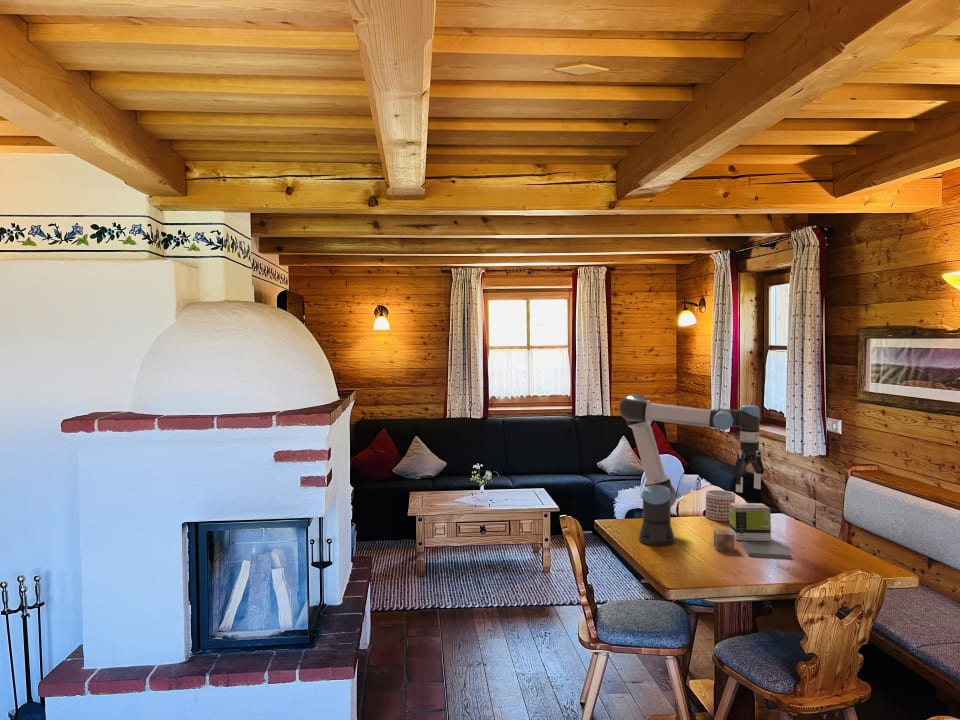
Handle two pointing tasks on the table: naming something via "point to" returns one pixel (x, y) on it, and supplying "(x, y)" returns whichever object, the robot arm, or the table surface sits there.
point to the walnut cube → (724, 540)
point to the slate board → (765, 550)
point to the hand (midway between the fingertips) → (748, 490)
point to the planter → (719, 505)
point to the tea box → (750, 521)
